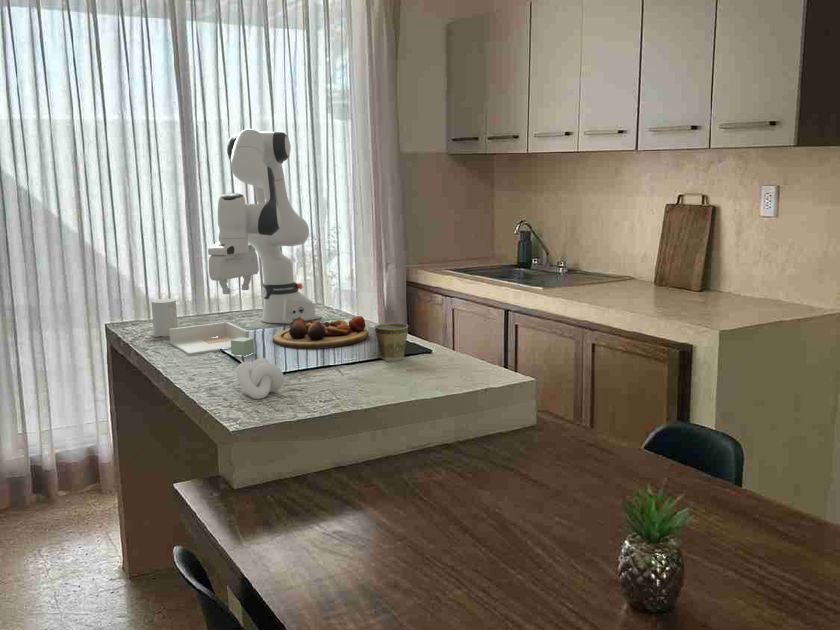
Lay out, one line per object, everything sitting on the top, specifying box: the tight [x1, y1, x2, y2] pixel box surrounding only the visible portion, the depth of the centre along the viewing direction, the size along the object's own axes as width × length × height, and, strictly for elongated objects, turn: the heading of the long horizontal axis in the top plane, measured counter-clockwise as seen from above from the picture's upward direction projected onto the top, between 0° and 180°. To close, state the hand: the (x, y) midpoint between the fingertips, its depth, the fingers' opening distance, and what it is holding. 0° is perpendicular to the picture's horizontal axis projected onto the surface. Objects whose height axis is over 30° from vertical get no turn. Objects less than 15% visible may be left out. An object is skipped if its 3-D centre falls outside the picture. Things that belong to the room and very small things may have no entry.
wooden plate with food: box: [272, 315, 369, 350], centre depth 277 cm, size 32×32×8 cm
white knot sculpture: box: [236, 357, 285, 400], centre depth 210 cm, size 11×12×9 cm
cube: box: [230, 337, 255, 356], centre depth 255 cm, size 5×5×5 cm
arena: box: [169, 321, 250, 356], centre depth 270 cm, size 20×20×5 cm
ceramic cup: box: [374, 322, 409, 362], centre depth 248 cm, size 13×10×10 cm
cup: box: [150, 298, 179, 337], centre depth 287 cm, size 8×8×12 cm
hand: (236, 292), depth 253 cm, fingers open, 8 cm apart
